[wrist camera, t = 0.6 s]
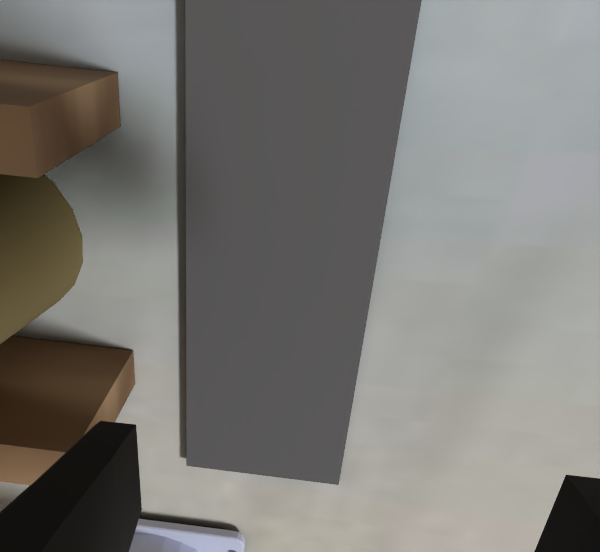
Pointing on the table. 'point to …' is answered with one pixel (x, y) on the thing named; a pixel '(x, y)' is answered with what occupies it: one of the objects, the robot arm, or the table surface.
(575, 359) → the table surface
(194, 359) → the strip
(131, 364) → the channel
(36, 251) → the cork
